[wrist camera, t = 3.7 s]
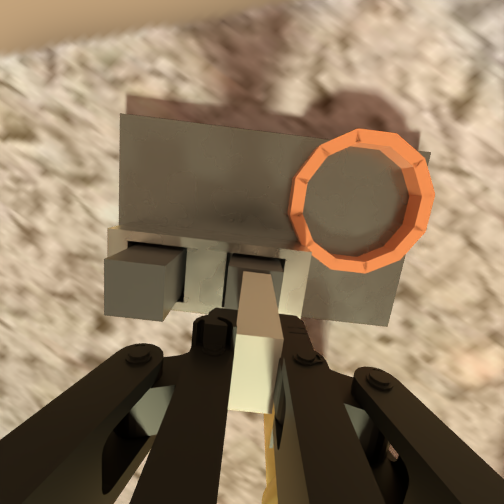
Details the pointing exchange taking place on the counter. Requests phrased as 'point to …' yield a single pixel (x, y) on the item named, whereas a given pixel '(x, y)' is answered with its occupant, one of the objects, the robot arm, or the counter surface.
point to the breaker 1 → (144, 281)
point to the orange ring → (415, 211)
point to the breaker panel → (260, 213)
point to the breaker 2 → (250, 265)
